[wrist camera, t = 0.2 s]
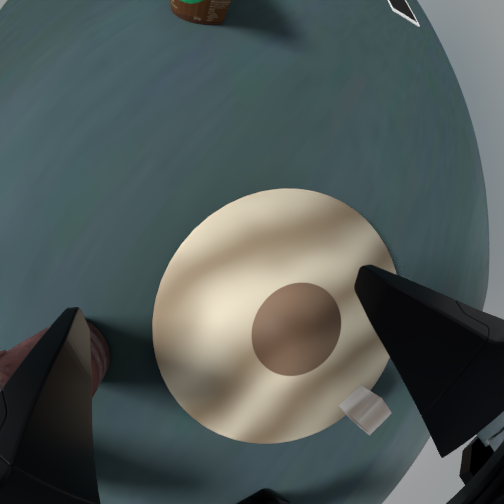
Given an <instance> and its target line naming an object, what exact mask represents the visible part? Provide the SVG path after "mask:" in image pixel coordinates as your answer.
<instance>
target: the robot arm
mask: <svg viewBox="0 0 504 504" xmlns="http://www.w3.org/2000/svg"><path fill="white" fill-rule="evenodd" d="M354 290H355V293H356V295H357V297H358V299H359V301H360V303H361V305H362V307H363V309H364V311H365V313H366V315H367V317H368V319H369V321H370V323H371V325H372V327H373V329H374V331H375V332H376V334H377V336H378V337H379V339H380V341H381V342H382V344H383V346H384V348H385V349H386V351H387V353H388V355H389V356H390V358H391V360H392V362H393V363H394V365H395V367H396V369H397V371H398V372H399V374H400V376H401V378H402V380H403V381H404V383H405V385H406V387H407V389H408V391H409V393H410V395H411V396H412V398H413V400H414V402H415V404H416V406H417V408H418V410H419V412H420V414H421V415H422V418H423V420H424V422H425V424H426V426H427V428H428V430H429V433H430V435H431V437H432V439H433V441H434V443H435V445H436V447H437V450H438V452H439V454H440V456H441V457H442V458H443V457H445V456H446V455H448V454H449V453H451V452H452V451H454V450H455V449H457V448H458V447H460V446H461V445H463V444H464V443H465V442H467V441H468V440H469V439H471V438H472V437H473V436H475V435H476V434H477V436H476V437H475V438H474V439H473V440H472V441H471V443H470V444H469V445H468V446H467V447H466V448H465V449H464V450H463V453H462V462H461V469H460V475H459V476H460V478H461V479H462V481H463V482H464V484H465V486H464V487H463V488H462V489H461V490H460V491H459V492H458V493H457V494H456V495H455V496H454V497H453V498H452V499H451V500H450V501H449V502H447V503H446V504H504V320H503V319H501V318H498V317H495V316H493V315H490V314H488V313H485V312H483V311H480V310H478V309H475V308H473V307H470V306H468V305H466V304H463V303H461V302H459V301H457V300H454V299H452V298H450V297H448V296H445V295H443V294H441V293H438V292H436V291H434V290H432V289H429V288H427V287H425V286H422V285H420V284H417V283H415V282H413V281H410V280H408V279H406V278H403V277H401V276H398V275H396V274H394V273H391V272H389V271H386V270H384V269H381V268H379V267H377V266H374V265H371V264H369V265H364V266H361V267H360V268H359V271H358V274H357V277H356V281H355V284H354ZM0 504H100V498H99V492H98V486H97V479H96V471H95V461H94V450H93V434H92V370H91V350H90V330H89V327H88V325H87V322H86V320H85V318H84V316H83V313H82V311H81V309H80V308H78V307H73V308H67V309H66V310H65V311H64V312H63V313H62V314H61V315H60V316H59V317H58V318H57V320H56V321H55V322H54V323H53V324H52V325H51V326H50V328H49V329H48V330H47V331H46V332H45V334H44V335H43V336H42V337H41V338H40V340H39V341H38V342H37V343H36V344H35V346H34V347H33V348H32V349H31V351H30V352H29V353H28V354H27V356H26V357H25V358H24V360H23V361H22V362H21V363H20V365H19V366H18V367H17V369H16V370H15V371H14V373H13V374H12V376H11V377H10V378H9V380H8V381H7V382H6V384H5V385H4V387H3V390H1V391H0ZM238 504H290V502H288V501H286V500H284V499H282V498H280V497H278V496H276V495H274V494H272V493H270V492H268V491H266V490H260V491H259V492H257V493H255V494H254V495H252V496H250V497H248V498H247V499H245V500H243V501H241V502H239V503H238Z"/></svg>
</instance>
